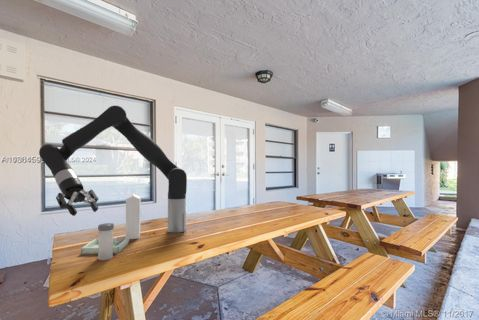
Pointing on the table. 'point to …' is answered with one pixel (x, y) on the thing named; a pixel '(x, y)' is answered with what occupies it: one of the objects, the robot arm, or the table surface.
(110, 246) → the shaker
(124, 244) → the tray
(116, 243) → the ball
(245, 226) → the table surface
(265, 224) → the table surface
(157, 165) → the robot arm
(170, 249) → the table surface
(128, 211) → the milk
